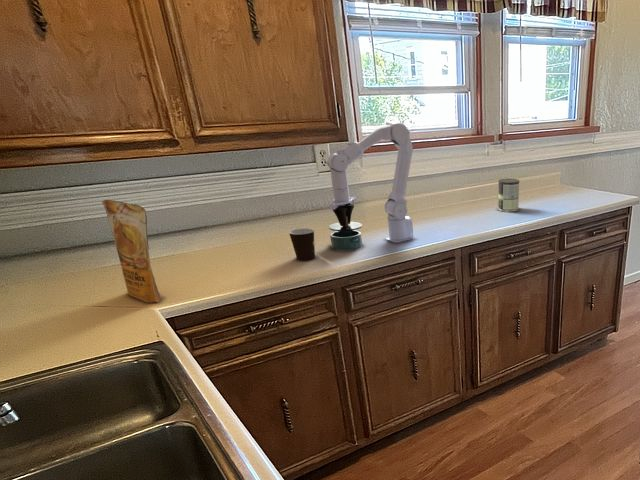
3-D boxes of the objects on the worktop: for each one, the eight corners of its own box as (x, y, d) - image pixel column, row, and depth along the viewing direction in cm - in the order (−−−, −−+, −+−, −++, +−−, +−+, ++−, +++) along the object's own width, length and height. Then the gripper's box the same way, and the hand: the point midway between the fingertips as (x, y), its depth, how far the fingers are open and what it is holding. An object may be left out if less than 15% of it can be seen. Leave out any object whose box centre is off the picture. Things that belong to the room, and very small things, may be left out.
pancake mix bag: (143, 287, 165) (113, 197, 152) (175, 299, 156) (146, 204, 143) (120, 293, 160) (87, 201, 147) (152, 306, 151) (120, 209, 138)
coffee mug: (311, 262, 187) (306, 235, 182) (289, 261, 188) (284, 233, 183) (325, 253, 197) (321, 226, 192) (305, 251, 198) (300, 225, 193)
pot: (350, 240, 212) (348, 227, 210) (371, 249, 201) (369, 235, 198) (324, 245, 206) (322, 231, 203) (343, 255, 194) (341, 241, 192)
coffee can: (494, 210, 259) (494, 180, 253) (505, 206, 267) (505, 177, 260) (511, 212, 254) (512, 182, 247) (522, 208, 262) (523, 179, 255)
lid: (352, 222, 207) (351, 211, 205) (368, 229, 199) (367, 216, 197) (323, 228, 200) (321, 216, 198) (338, 234, 192) (336, 222, 189)
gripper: (342, 184, 199) (346, 219, 206) (319, 191, 188) (325, 228, 194) (358, 185, 197) (362, 221, 204) (336, 192, 185) (341, 230, 192)
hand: (345, 224), depth 199 cm, fingers closed on lid, 2 cm apart
